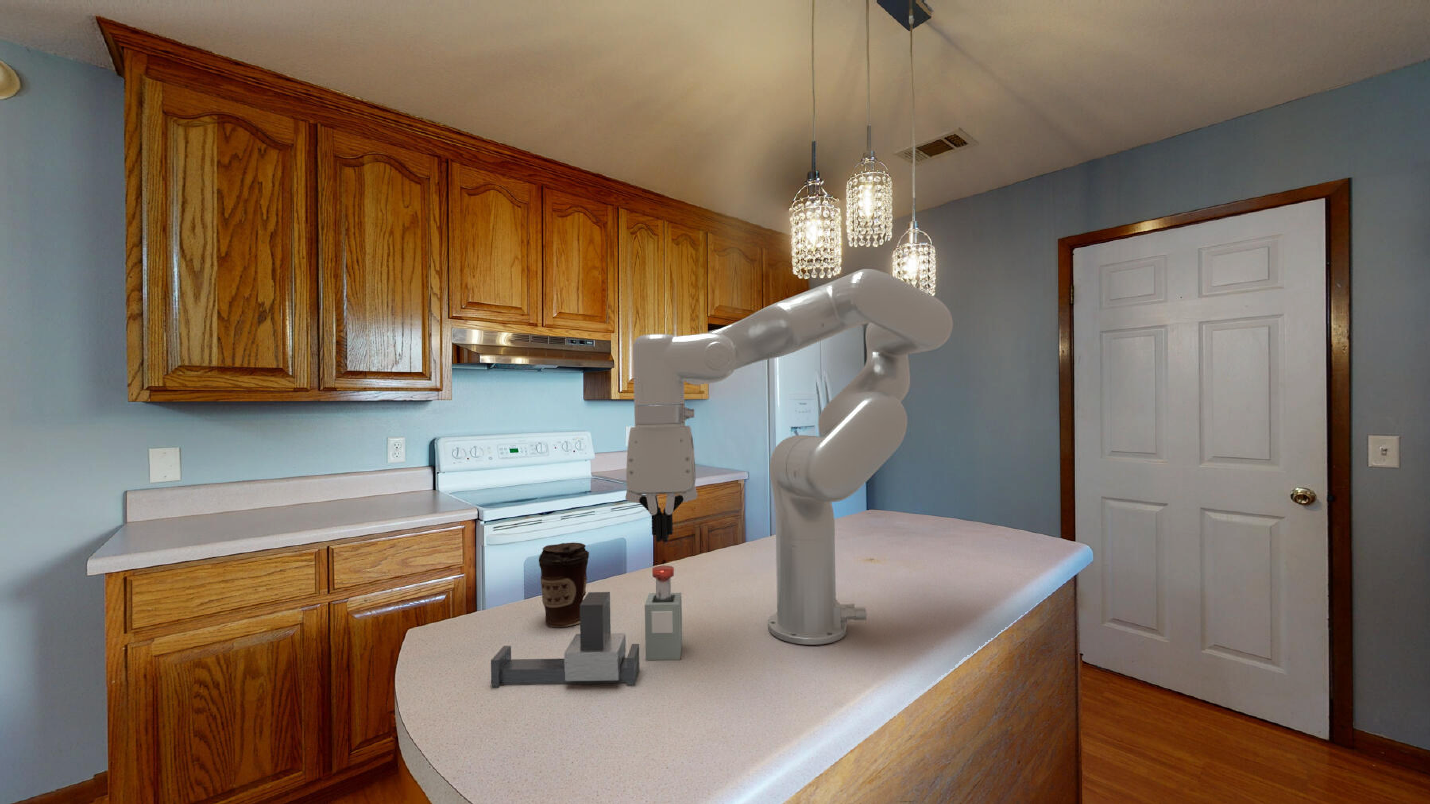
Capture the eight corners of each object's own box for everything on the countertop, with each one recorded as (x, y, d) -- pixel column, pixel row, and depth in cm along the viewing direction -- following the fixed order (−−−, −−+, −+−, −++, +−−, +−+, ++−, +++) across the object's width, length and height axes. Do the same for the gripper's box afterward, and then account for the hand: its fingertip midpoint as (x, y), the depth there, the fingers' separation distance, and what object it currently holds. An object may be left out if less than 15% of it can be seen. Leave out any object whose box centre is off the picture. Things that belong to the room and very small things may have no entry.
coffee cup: (575, 633, 90) (574, 553, 90) (529, 630, 92) (527, 552, 92) (597, 613, 98) (596, 540, 99) (554, 610, 100) (553, 539, 100)
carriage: (625, 659, 78) (624, 590, 78) (618, 681, 72) (616, 605, 72) (576, 660, 78) (575, 591, 78) (564, 681, 72) (563, 606, 72)
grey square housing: (682, 644, 85) (681, 592, 85) (679, 660, 80) (679, 604, 80) (649, 645, 85) (649, 593, 85) (645, 660, 80) (644, 605, 80)
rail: (639, 669, 77) (639, 643, 77) (634, 685, 73) (634, 658, 73) (504, 671, 77) (503, 645, 77) (491, 687, 73) (490, 660, 73)
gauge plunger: (675, 611, 84) (674, 565, 84) (673, 619, 81) (672, 571, 81) (654, 611, 84) (653, 565, 84) (651, 619, 81) (651, 571, 81)
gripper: (709, 415, 86) (712, 532, 86) (614, 418, 86) (617, 535, 86) (709, 416, 79) (712, 545, 79) (604, 419, 79) (607, 547, 79)
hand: (662, 539), depth 82 cm, fingers closed
